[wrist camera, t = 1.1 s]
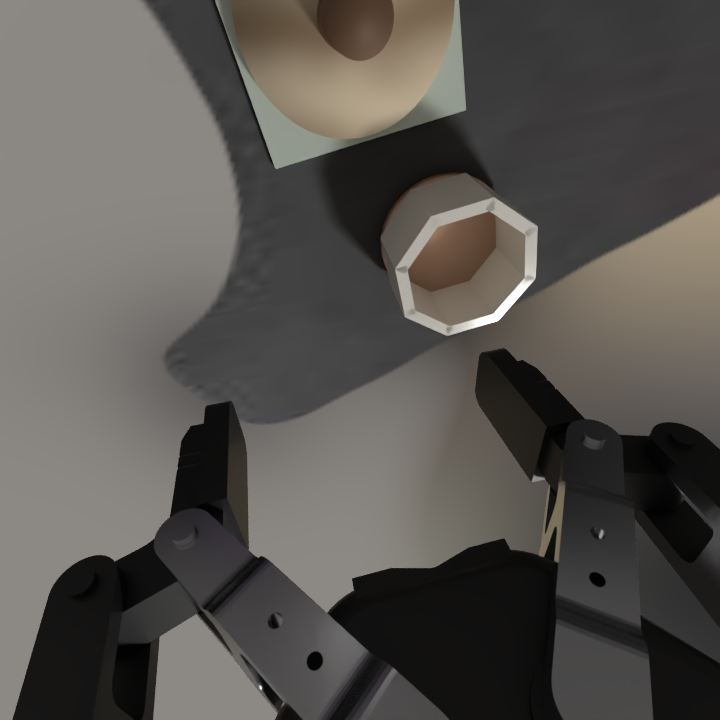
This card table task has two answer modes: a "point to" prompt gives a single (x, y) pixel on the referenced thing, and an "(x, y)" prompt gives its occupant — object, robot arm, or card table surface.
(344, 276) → the card table surface
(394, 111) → the lid
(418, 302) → the cup
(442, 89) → the mat
